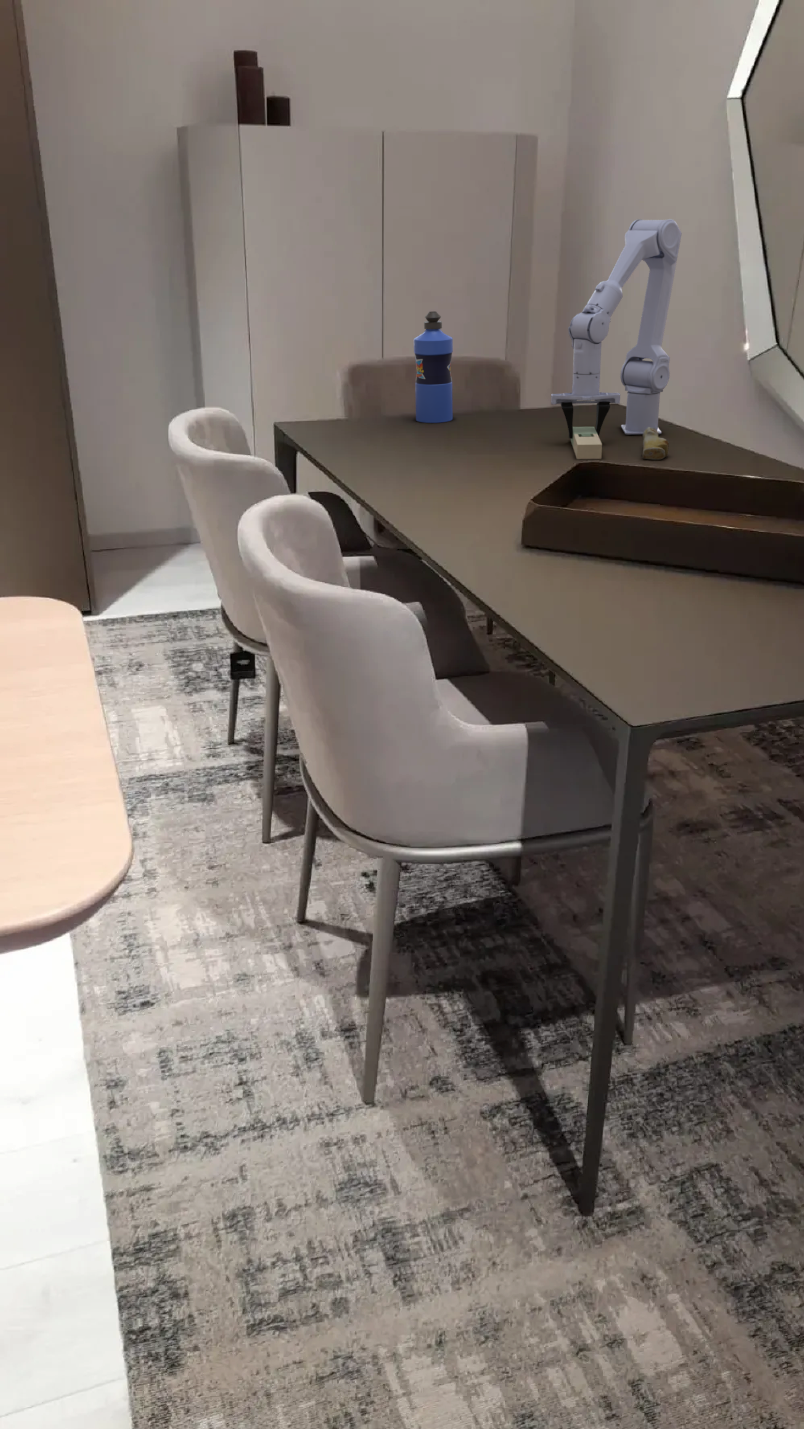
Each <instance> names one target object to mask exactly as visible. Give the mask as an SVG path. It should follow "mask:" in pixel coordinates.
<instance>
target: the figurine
mask: <svg viewBox="0 0 804 1429" xmlns="http://www.w3.org/2000/svg"><path fill="white" fill-rule="evenodd" d="M659 435H660V434H659V433H658V432H657V430H656V429H655V428H652V427H648V428H647V429H646V430H645V431H644V432H643V434H642V456H641V457H642V458H643V459H644V460H655V461H660V460H663V459H664V458H666V457H668V454H669V447H670V443H669V441H668V440H667V439H666V438H664V437H659Z"/></svg>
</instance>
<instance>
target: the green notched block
mask: <svg viewBox="0 0 804 1429" xmlns="http://www.w3.org/2000/svg"><path fill="white" fill-rule="evenodd" d="M574 434H578V436H579V437H593V434H597V432H596V430H595V426H573V439H570V442H571V445H572V446H573V442H574Z"/></svg>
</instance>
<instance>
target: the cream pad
mask: <svg viewBox="0 0 804 1429" xmlns="http://www.w3.org/2000/svg"><path fill="white" fill-rule="evenodd" d="M572 448H573V452H574V455H575V458H576V460H602V454H603V443H602V440H601V439H600V435H599V436H598V434H593V437H579V436H578V434H574V442H573V445H572Z"/></svg>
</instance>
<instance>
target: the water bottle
mask: <svg viewBox="0 0 804 1429" xmlns="http://www.w3.org/2000/svg"><path fill="white" fill-rule="evenodd" d="M441 318H442V316H441V315H440V314H439V313H438V311H434V310H433V311H428V313H427V314H426V315H425V316H424V319H425V320H426V321H423V330H424V332H423V333H421V334H419V335H418V336H416V337H415V338H413V353H414V358H415V367H416V375H415V384H414V385H415V388H414V390H415V391H414V392H415V393H414V394H415V421H417V422H418V423H425V424H426V423H428V424H439V423H446V422H447V423H448V422H450V421H452V420H453V419H454V418H453V417H454V416H453V410H454V408H453V378H452V371H451V368H452V357H453V352H454V344H453V343H454V339H453V337H452V336H450V335H448V334H446V333H444V332H443V331H442V328H443V322H442V321H441V320H440V319H441Z"/></svg>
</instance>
